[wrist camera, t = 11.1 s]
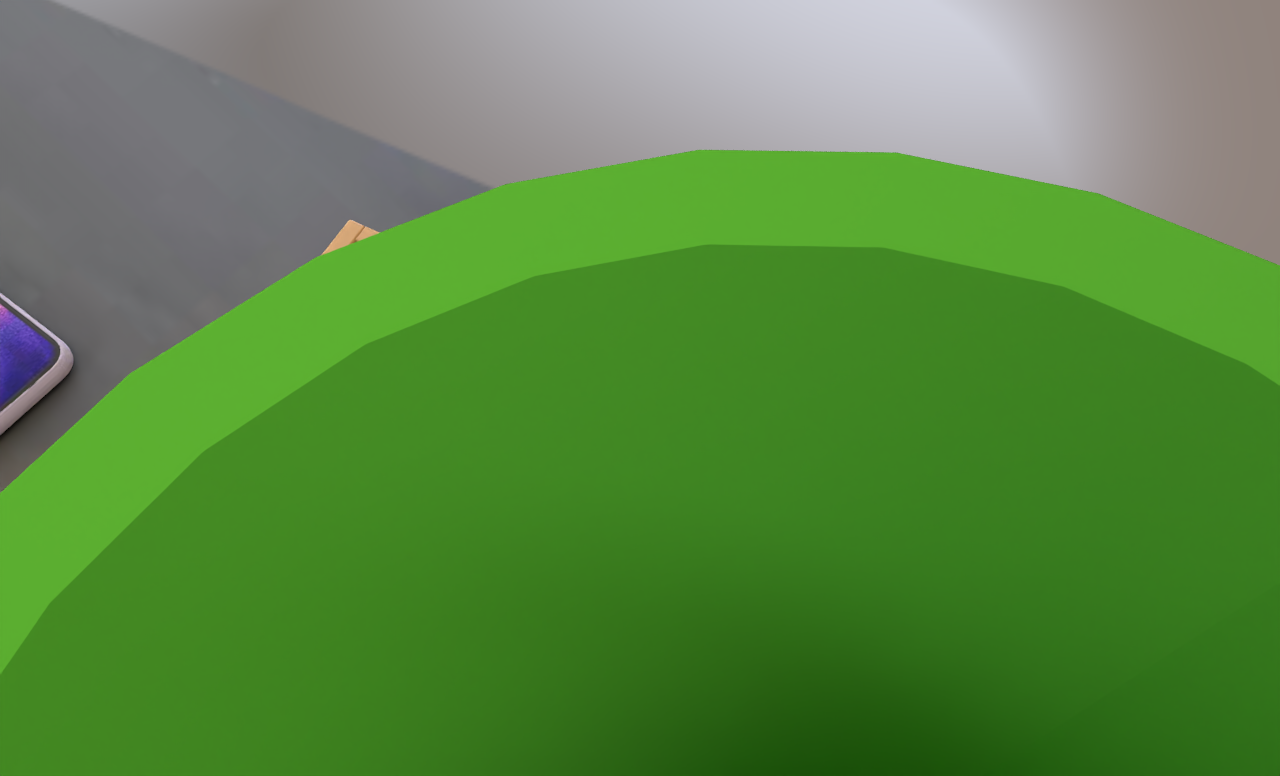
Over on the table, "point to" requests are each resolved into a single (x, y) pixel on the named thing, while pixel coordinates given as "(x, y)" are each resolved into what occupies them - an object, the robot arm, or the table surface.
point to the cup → (680, 496)
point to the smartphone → (27, 362)
